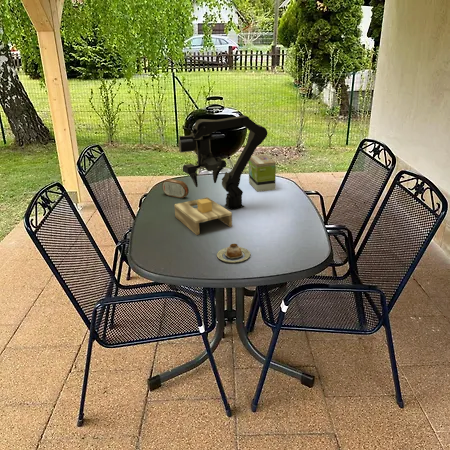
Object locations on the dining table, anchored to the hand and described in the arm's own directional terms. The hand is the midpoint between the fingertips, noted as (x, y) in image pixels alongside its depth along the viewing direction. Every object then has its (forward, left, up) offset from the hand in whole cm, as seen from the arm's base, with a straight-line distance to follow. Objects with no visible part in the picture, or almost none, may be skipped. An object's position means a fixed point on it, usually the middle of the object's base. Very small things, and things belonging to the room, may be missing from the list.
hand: (205, 184), depth 191 cm
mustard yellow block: (+7, +13, -9) cm, 18 cm away
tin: (+5, -25, -12) cm, 28 cm away
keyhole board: (+7, +11, -12) cm, 18 cm away
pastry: (+12, +45, -13) cm, 48 cm away
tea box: (-39, -14, -12) cm, 43 cm away
